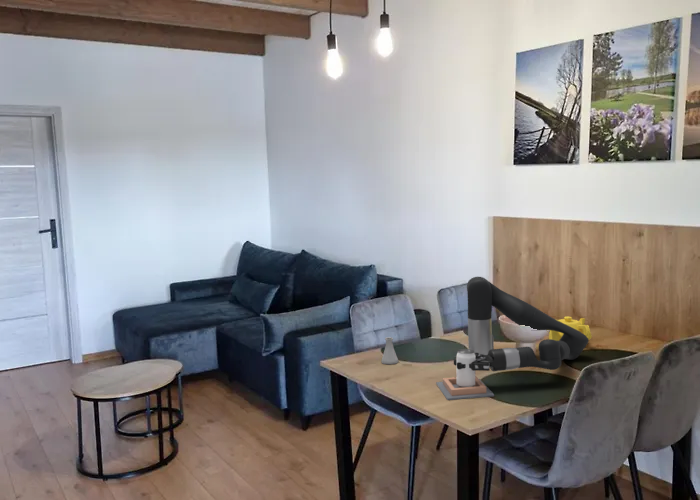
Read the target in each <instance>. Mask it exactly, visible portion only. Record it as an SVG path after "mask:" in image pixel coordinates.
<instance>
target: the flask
mask: <svg viewBox="0 0 700 500" xmlns="http://www.w3.org/2000/svg"><path fill="white" fill-rule="evenodd" d="M393 340H394V338H393V336H392V337H391V336H388V337H387V336H386V337H385V348H384V351H383V355H382V358H381V360H380V361H381V363H382V364H383V365H396V364H398V363H399V362H400V361H399V359H398V356H397V354H396V351H395V348H394V344H393Z"/></svg>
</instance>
